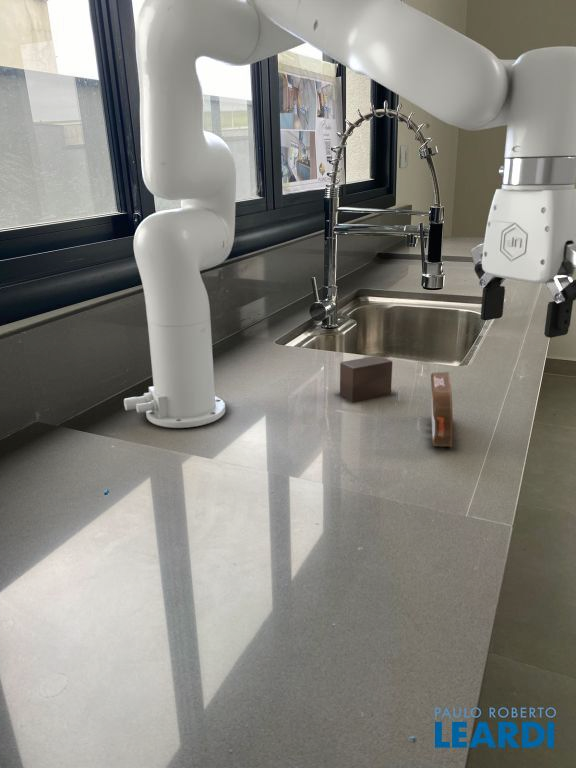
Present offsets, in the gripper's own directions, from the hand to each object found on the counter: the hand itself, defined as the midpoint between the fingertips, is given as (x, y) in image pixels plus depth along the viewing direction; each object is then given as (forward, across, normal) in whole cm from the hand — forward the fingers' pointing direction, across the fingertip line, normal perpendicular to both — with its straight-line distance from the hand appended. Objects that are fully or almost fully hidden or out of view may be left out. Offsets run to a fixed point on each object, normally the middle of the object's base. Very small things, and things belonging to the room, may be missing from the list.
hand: (521, 326), depth 72 cm
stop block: (+19, -31, 0) cm, 37 cm away
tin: (+19, -12, 0) cm, 23 cm away
